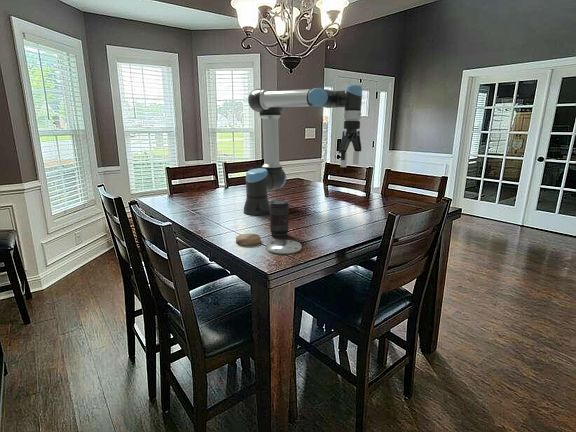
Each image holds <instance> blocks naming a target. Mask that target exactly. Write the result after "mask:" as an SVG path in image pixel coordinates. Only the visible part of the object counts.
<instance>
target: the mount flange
mask: <svg viewBox="0 0 576 432" xmlns="http://www.w3.org/2000/svg"><path fill="white" fill-rule="evenodd" d="M302 246H303V245H302V243H300V242H299V241H296V240H291V239H276V240H271V241H269V242H267V243H266V244H265V250H266V251H267V252H268V253H270V254H273V255H274V254H275V255H284V256H285V255H293V254H296V253H299V252H300V251H301V250H302V249H303V248H302Z"/></svg>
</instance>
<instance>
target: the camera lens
mask: <svg viewBox="0 0 576 432" xmlns="http://www.w3.org/2000/svg"><path fill="white" fill-rule="evenodd" d="M269 203H270V213H269V215H270V216H269V219H270V220H269V221H270V222H269V228H270V234H271V236H272V238H275V239H284V238H286V237H287V236H288V233H289V210H290V205H289V201H287V200H273V201H269Z"/></svg>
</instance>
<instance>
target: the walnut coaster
mask: <svg viewBox="0 0 576 432" xmlns="http://www.w3.org/2000/svg"><path fill="white" fill-rule="evenodd" d="M261 241H262V240H261V236H260V234H257V233H242V234H238V235H237V236H235V244H236V245H237V244H238V246H241V247H255V246H257V245H259V244H261Z"/></svg>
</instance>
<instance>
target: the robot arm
mask: <svg viewBox="0 0 576 432" xmlns="http://www.w3.org/2000/svg"><path fill="white" fill-rule="evenodd" d="M362 99H363V88H362V86H361V85H359V84H349V85H346V86H345V90H332V89H325V88H322V87H314V88H312V89H310V88H308V89H289V90H273V89H267V88H265V89H264V88H255V89H253V90H251V92H250V93H249V94H248V98H247V103H248V105H249V108H251V109H252V110H253V111H254V112H257V113H259V117H260V119H262V136H263V137H262V140H263V157H264V159H263V161H264V163H263V165H261V167H260V168H259V167H258V168H252V169H249V170H248V171H246V173H245V190H246V194H245V195H246V199H245V203H244V206H243V213H244V214H245V215H249V216H264V215H265V216H266V215H270V201H269V191H273V190H276V191H277V190H279V189H280V188H282V187H283V186H284V185H285V184H286V181H287V173H286V172H285V170H284V169H283V164H281V163H280V138H279V118H281V116H282V114H281V113H282V111H283V110H284V108H299V107H300V108H301V107H302V108H304V107H314V108H315V107H323V108H327V109H331V108H336V109H337V108H344V115H343V119H344V121H343V129H344V130H342V137H341V140H340V143H339V147H338V153H339V154H340V168H347V163H348V162H347V161H348V159H347V158H348V153H347V151H348V148H349V146H350V143H352V146H353V150H354V151H352V152H353V155H352V165H353V166H355V165H356V166H358V165H359V164H360V163H359V161H360V160H359V159H360V152H362V149H363V148H362V142H361V132H360V129H361V121H360V120H361V115H362V112H361V111H362Z"/></svg>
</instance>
